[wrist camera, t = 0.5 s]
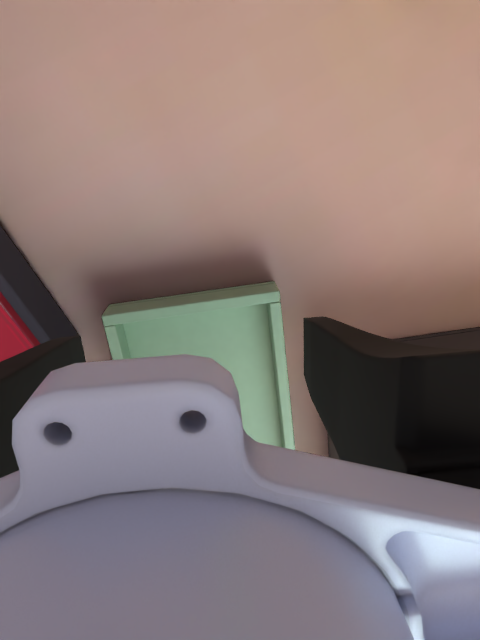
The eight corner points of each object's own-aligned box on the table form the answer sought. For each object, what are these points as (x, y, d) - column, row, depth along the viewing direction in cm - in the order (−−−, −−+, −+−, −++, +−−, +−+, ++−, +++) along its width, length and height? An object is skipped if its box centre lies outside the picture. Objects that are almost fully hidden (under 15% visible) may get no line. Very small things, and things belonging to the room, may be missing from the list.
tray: (296, 494, 29) (301, 516, 27) (162, 514, 29) (158, 538, 27) (274, 280, 23) (279, 290, 22) (108, 304, 23) (100, 316, 22)
